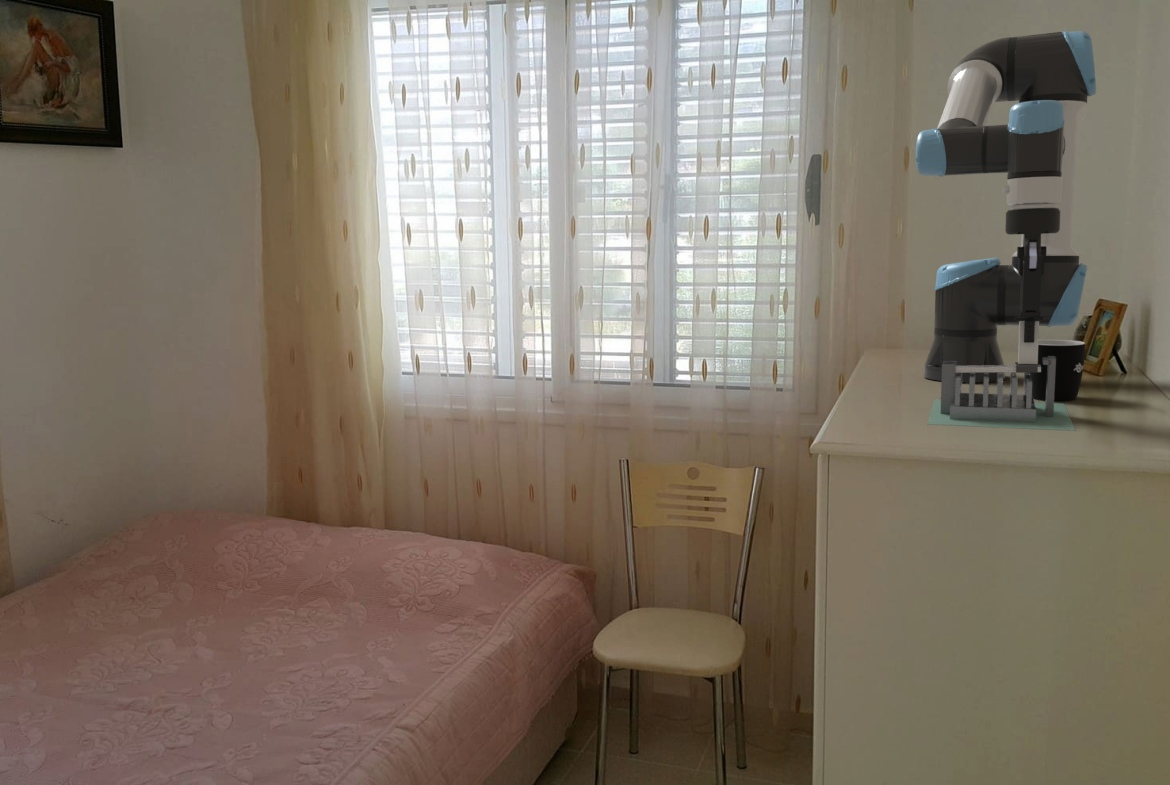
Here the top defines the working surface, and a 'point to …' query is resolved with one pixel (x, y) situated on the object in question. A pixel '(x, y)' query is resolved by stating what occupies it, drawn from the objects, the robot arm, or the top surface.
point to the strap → (1000, 368)
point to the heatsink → (994, 396)
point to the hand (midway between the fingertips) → (1027, 363)
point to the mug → (1060, 369)
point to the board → (1042, 422)
